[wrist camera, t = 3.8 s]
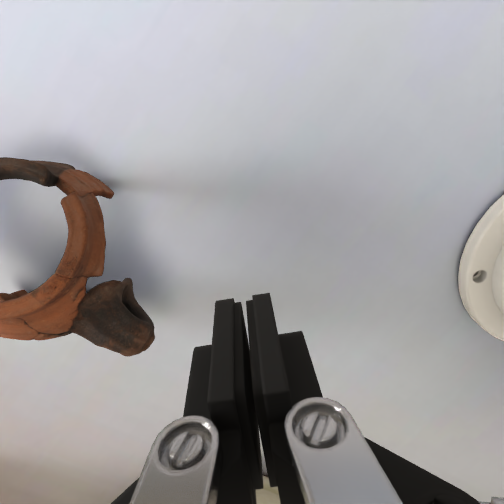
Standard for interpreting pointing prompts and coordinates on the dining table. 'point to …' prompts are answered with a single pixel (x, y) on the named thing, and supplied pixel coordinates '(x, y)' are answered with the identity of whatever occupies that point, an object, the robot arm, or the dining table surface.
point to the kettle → (267, 493)
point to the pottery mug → (75, 273)
